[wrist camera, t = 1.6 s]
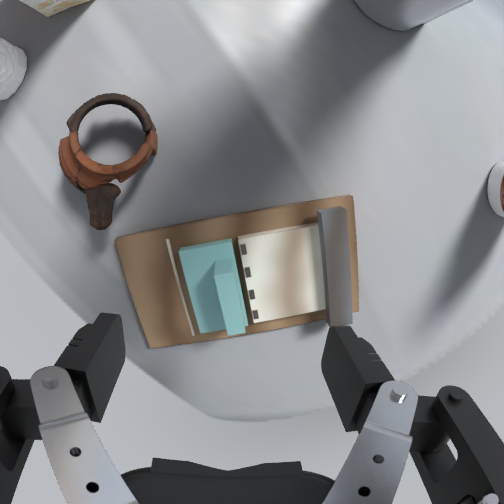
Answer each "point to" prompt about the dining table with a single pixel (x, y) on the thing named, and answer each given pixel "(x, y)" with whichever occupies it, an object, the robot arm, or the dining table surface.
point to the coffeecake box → (52, 5)
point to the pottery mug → (98, 175)
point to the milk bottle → (496, 188)
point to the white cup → (11, 68)
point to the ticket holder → (250, 269)
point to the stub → (214, 286)
